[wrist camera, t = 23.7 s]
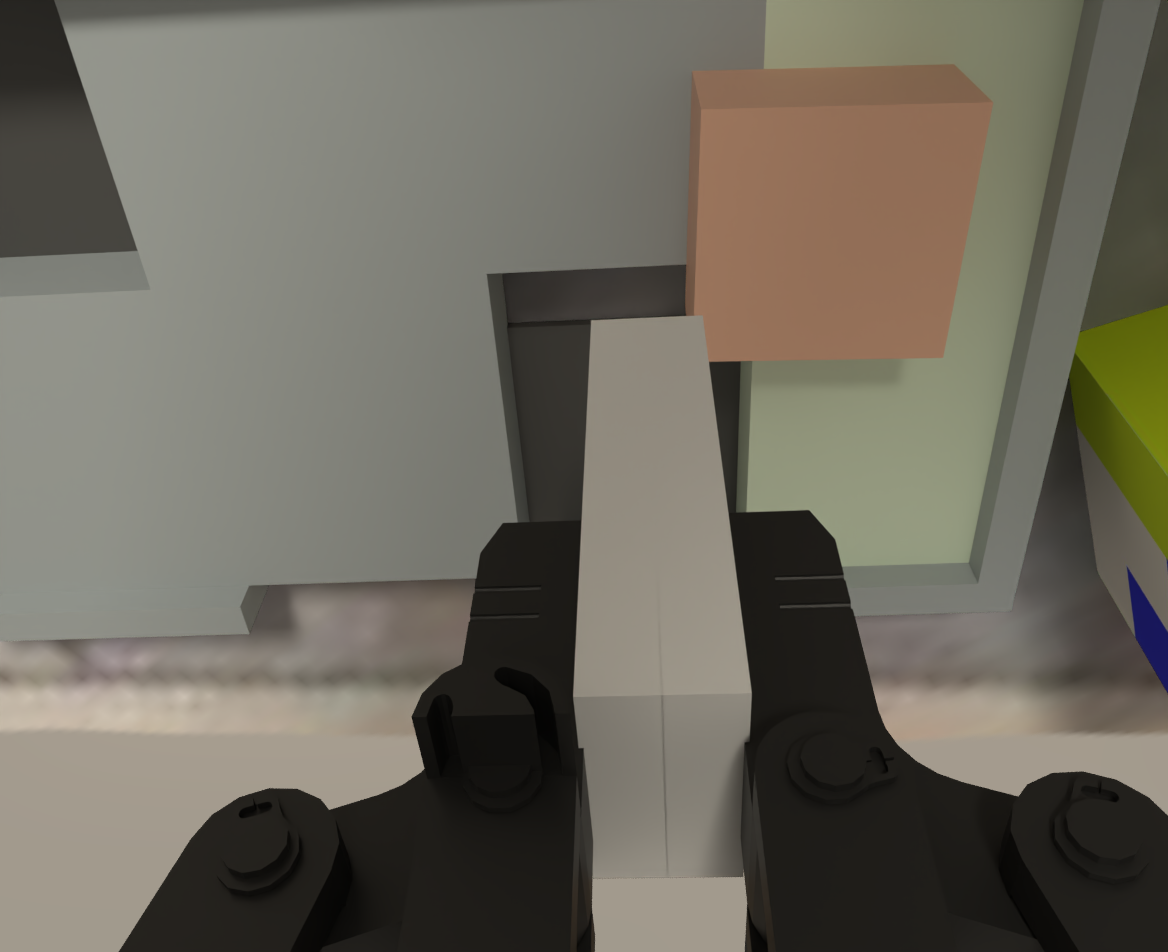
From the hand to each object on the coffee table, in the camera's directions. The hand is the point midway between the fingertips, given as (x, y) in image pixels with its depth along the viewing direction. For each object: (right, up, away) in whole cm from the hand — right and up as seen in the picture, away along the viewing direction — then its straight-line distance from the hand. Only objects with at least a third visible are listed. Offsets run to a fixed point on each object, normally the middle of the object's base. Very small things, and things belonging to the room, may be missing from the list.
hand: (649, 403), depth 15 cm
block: (+5, +6, +11) cm, 13 cm away
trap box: (-6, +5, +16) cm, 18 cm away
